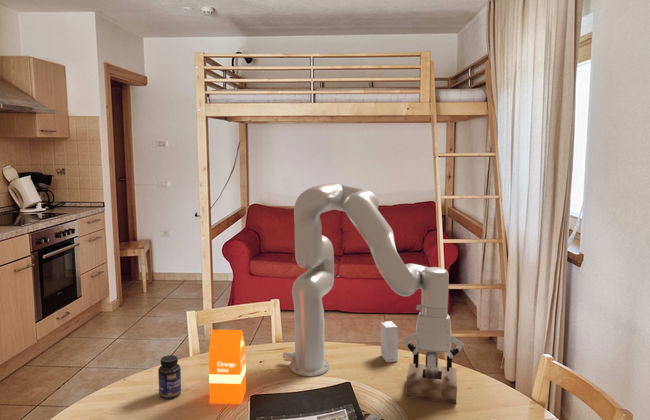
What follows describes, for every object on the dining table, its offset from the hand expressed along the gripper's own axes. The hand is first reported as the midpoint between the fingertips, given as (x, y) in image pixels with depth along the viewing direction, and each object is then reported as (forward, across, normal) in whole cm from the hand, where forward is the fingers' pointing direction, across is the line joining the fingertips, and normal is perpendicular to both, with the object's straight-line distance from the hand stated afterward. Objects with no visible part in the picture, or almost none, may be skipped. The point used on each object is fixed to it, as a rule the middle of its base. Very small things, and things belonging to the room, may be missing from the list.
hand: (432, 367), depth 144 cm
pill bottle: (+7, -73, -22) cm, 77 cm away
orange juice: (+7, -56, -19) cm, 60 cm away
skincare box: (+7, -15, +19) cm, 25 cm away
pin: (+6, 0, 0) cm, 6 cm away
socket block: (+7, 0, 0) cm, 7 cm away
